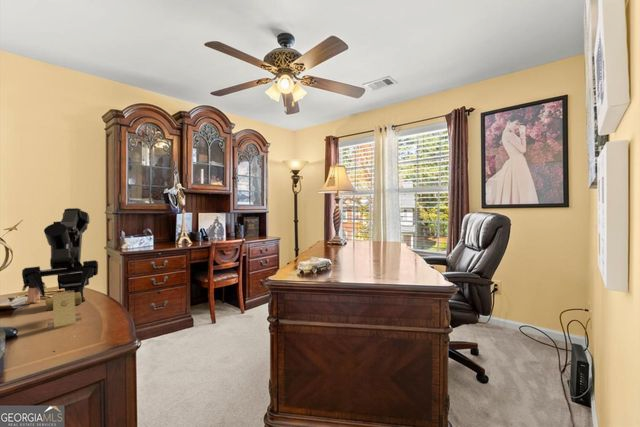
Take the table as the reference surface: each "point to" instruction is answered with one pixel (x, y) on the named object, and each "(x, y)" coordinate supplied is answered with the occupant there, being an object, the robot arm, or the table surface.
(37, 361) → the table surface
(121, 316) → the table surface
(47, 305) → the gavel
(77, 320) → the tan flat block
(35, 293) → the grandmother figurine
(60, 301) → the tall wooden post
